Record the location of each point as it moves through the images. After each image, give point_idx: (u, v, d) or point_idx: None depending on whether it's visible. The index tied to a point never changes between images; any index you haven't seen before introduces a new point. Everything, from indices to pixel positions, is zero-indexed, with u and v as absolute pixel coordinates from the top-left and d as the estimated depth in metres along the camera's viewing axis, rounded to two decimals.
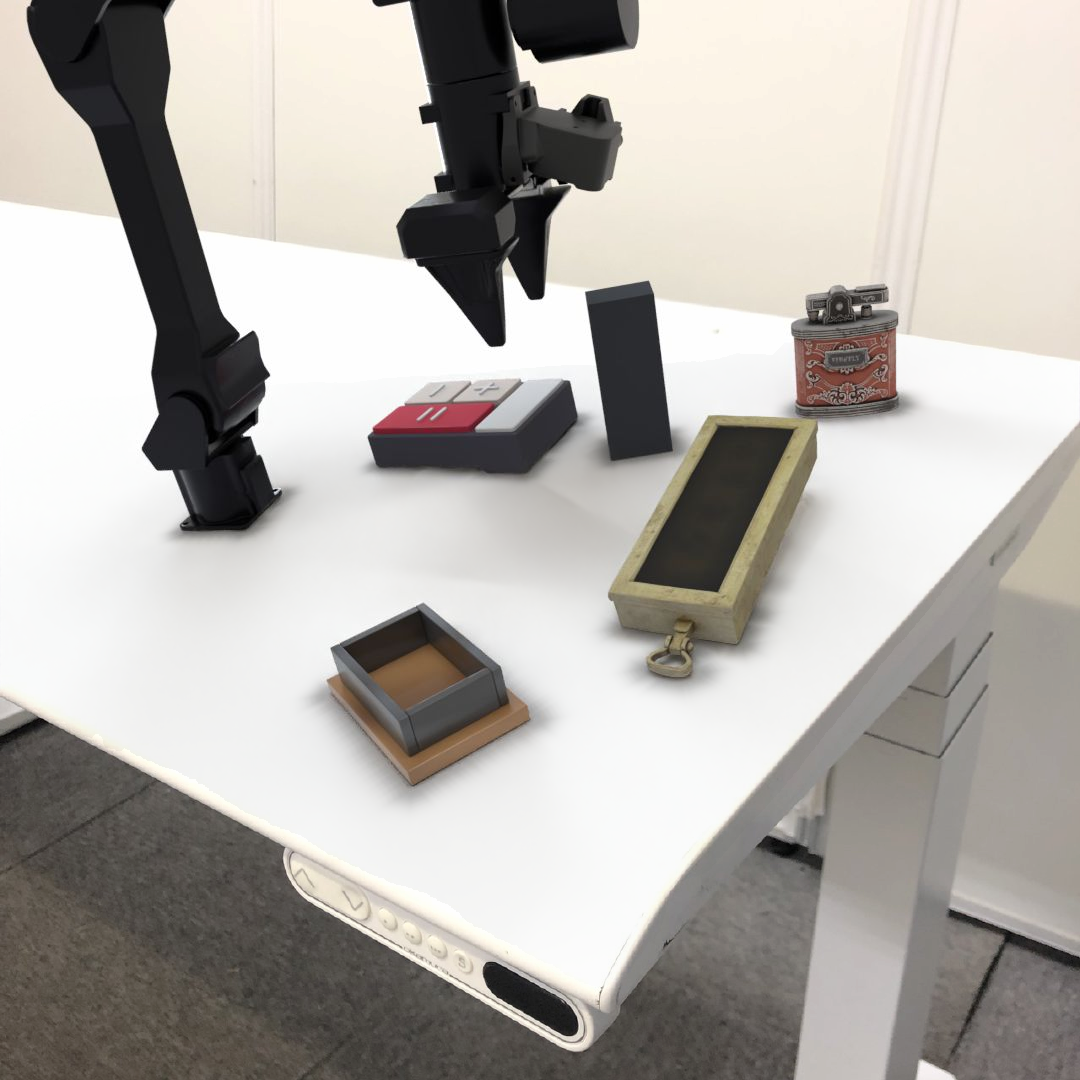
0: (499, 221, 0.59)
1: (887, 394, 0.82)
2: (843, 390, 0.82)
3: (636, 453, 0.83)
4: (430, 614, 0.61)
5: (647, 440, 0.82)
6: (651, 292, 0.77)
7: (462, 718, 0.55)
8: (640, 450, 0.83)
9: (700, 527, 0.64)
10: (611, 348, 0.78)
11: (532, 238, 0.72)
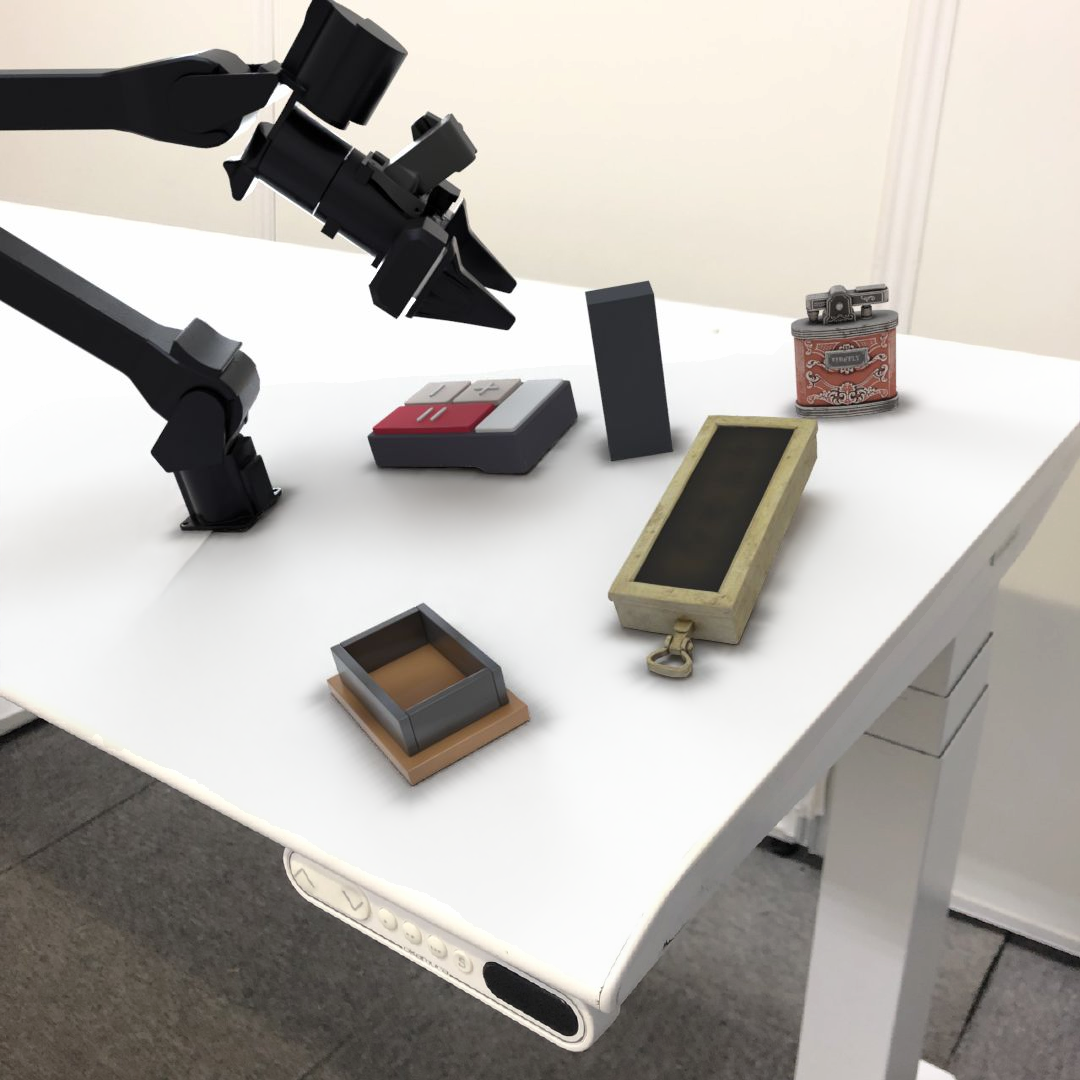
0: (429, 230, 0.67)
1: (887, 394, 0.82)
2: (843, 390, 0.82)
3: (636, 453, 0.83)
4: (430, 614, 0.61)
5: (647, 440, 0.82)
6: (651, 292, 0.77)
7: (462, 718, 0.55)
8: (640, 450, 0.83)
9: (700, 527, 0.64)
10: (611, 348, 0.78)
11: (472, 252, 0.81)
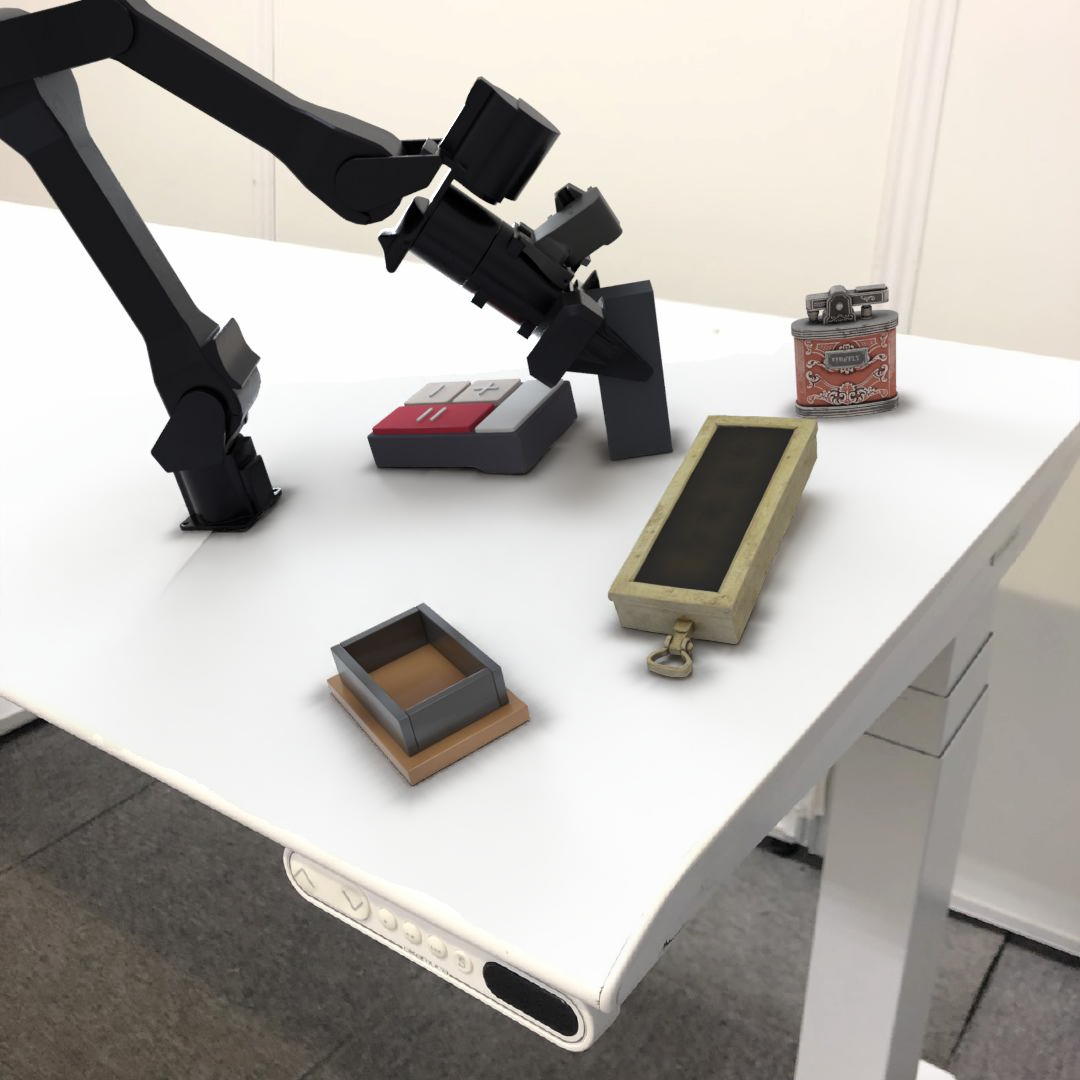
0: (587, 305, 0.70)
1: (887, 394, 0.82)
2: (843, 390, 0.82)
3: (636, 453, 0.82)
4: (430, 614, 0.61)
5: (647, 439, 0.82)
6: (651, 290, 0.77)
7: (462, 718, 0.55)
8: (640, 450, 0.82)
9: (700, 527, 0.64)
10: None
11: None
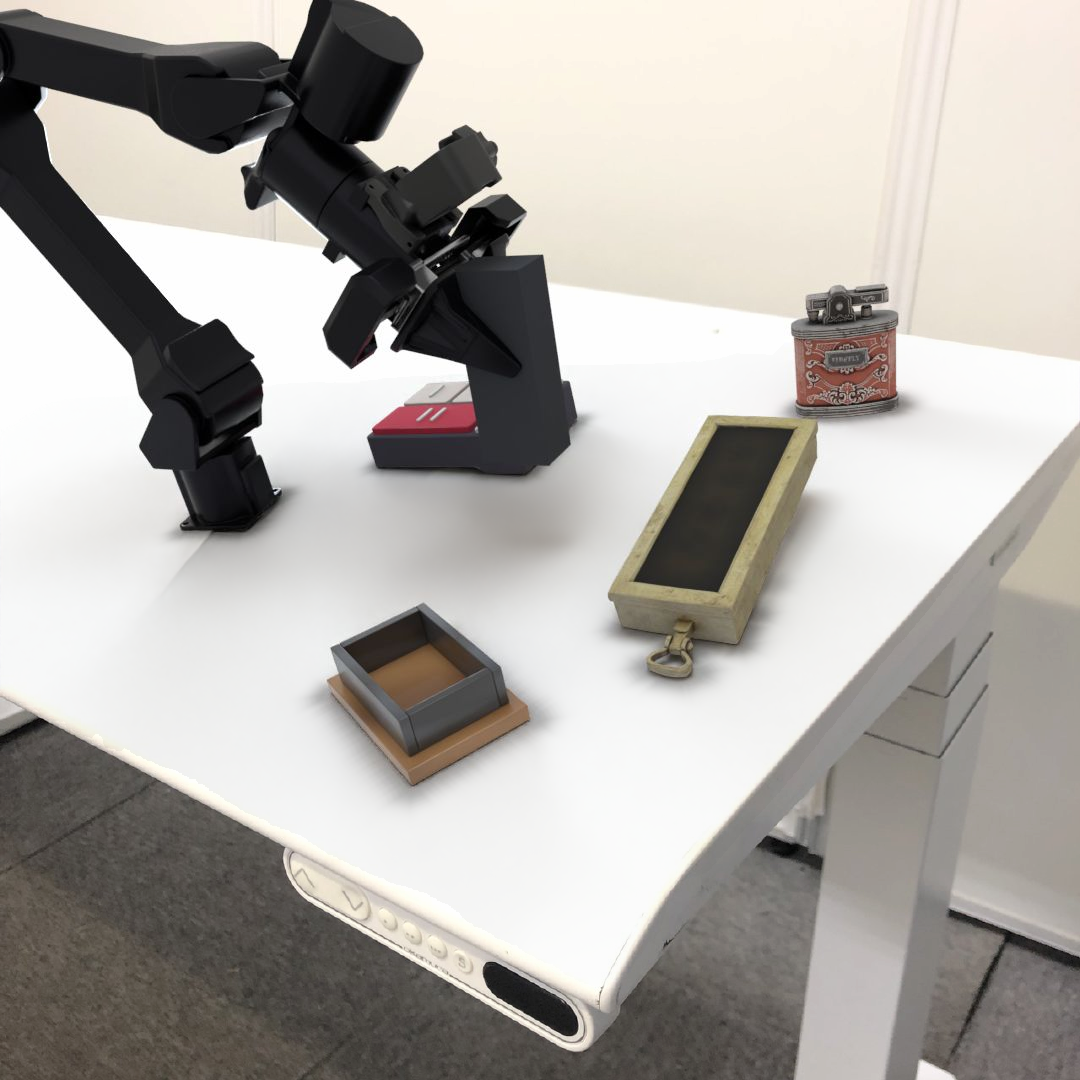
0: (382, 278, 0.58)
1: (887, 394, 0.82)
2: (843, 390, 0.82)
3: (510, 459, 0.69)
4: (430, 614, 0.61)
5: (520, 447, 0.68)
6: (517, 268, 0.62)
7: (462, 718, 0.55)
8: (513, 457, 0.69)
9: (700, 527, 0.64)
10: None
11: None
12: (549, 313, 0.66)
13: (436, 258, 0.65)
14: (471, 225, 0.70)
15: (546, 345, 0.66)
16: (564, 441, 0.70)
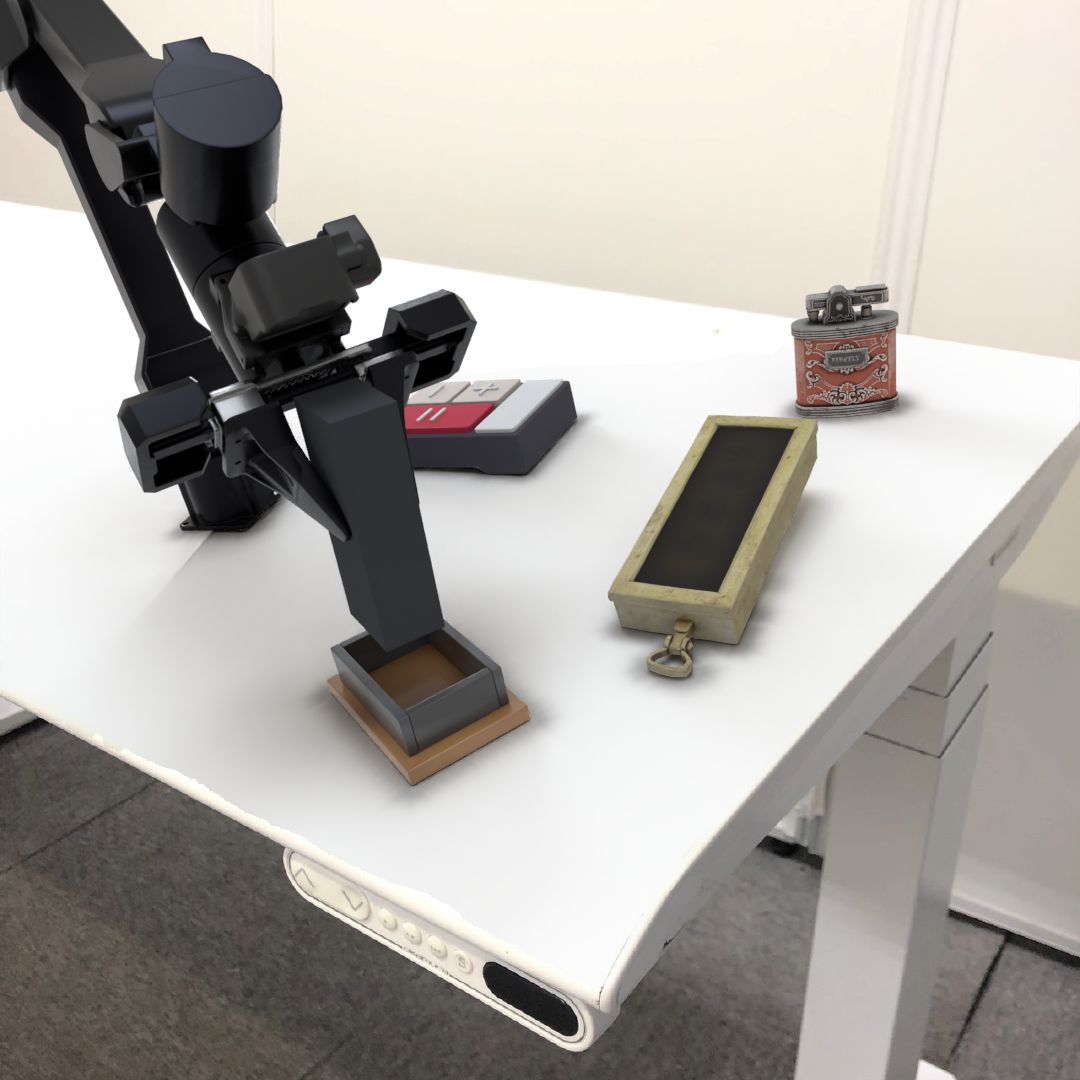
0: (146, 411, 0.48)
1: (887, 394, 0.82)
2: (843, 390, 0.82)
3: (363, 624, 0.56)
4: None
5: (367, 617, 0.55)
6: (333, 420, 0.48)
7: (462, 718, 0.55)
8: (365, 624, 0.56)
9: (700, 527, 0.64)
10: (319, 470, 0.52)
11: None
12: (404, 473, 0.51)
13: (291, 376, 0.52)
14: (393, 328, 0.55)
15: (394, 511, 0.51)
16: (429, 623, 0.55)
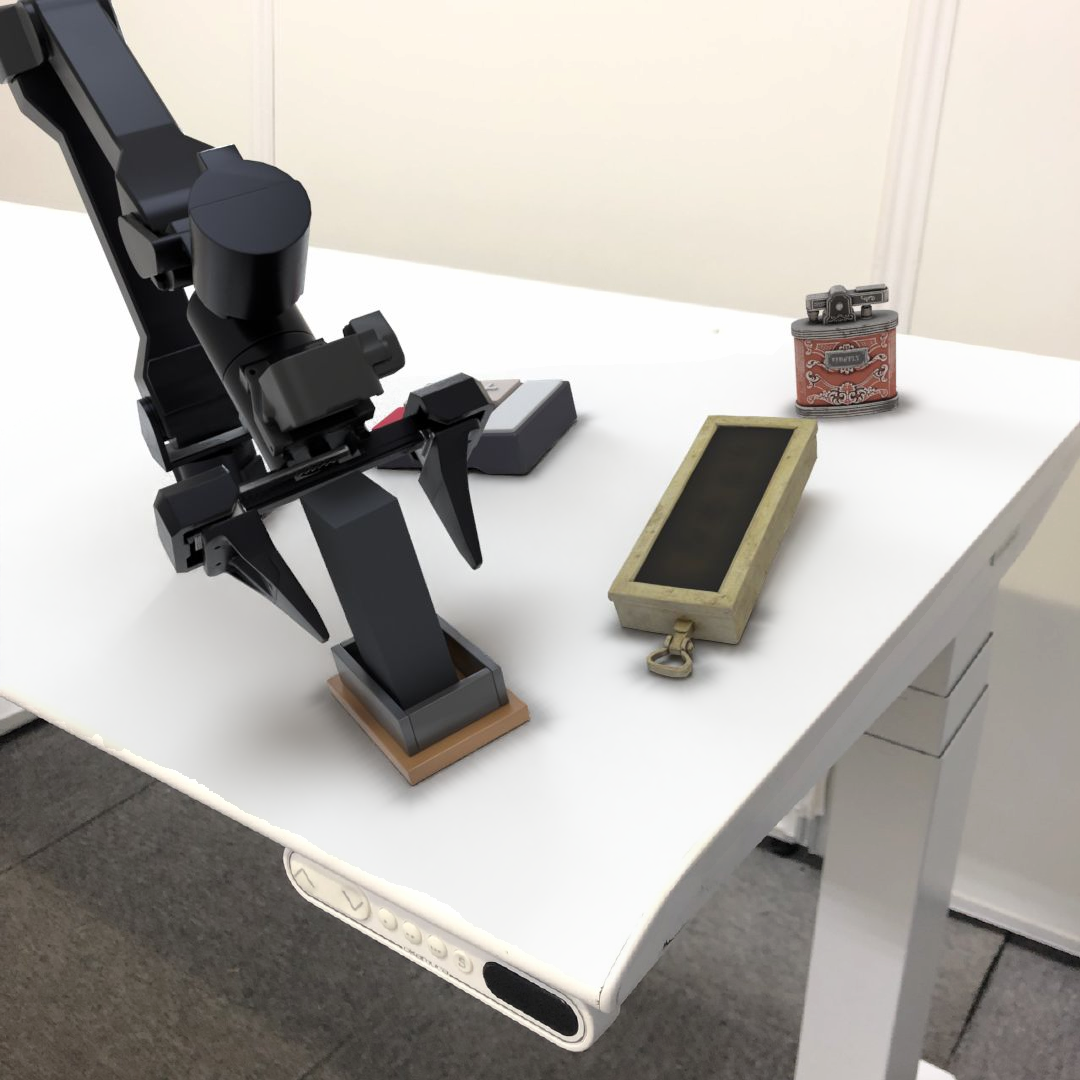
0: (181, 501, 0.50)
1: (887, 394, 0.82)
2: (843, 390, 0.82)
3: None
4: None
5: (389, 695, 0.57)
6: (338, 525, 0.50)
7: (462, 718, 0.55)
8: None
9: (700, 527, 0.64)
10: (330, 563, 0.54)
11: (444, 497, 0.57)
12: (411, 563, 0.53)
13: (270, 480, 0.53)
14: (414, 410, 0.58)
15: (404, 599, 0.53)
16: None
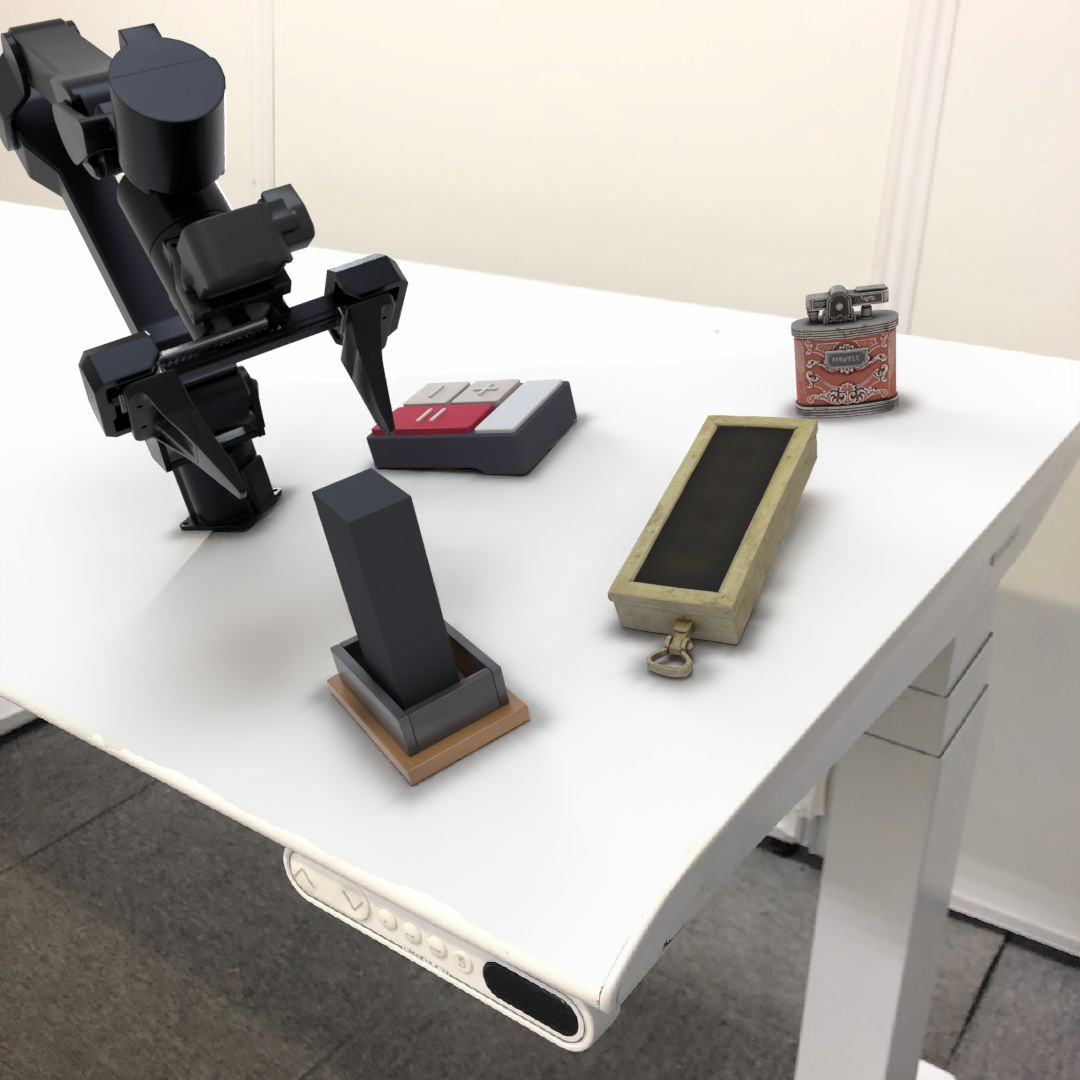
0: (103, 360, 0.54)
1: (887, 394, 0.82)
2: (843, 390, 0.82)
3: None
4: None
5: (390, 694, 0.57)
6: (352, 519, 0.50)
7: (462, 718, 0.55)
8: None
9: (700, 527, 0.64)
10: (339, 559, 0.55)
11: (360, 369, 0.60)
12: (421, 561, 0.53)
13: (191, 347, 0.57)
14: (331, 288, 0.61)
15: (412, 598, 0.53)
16: None
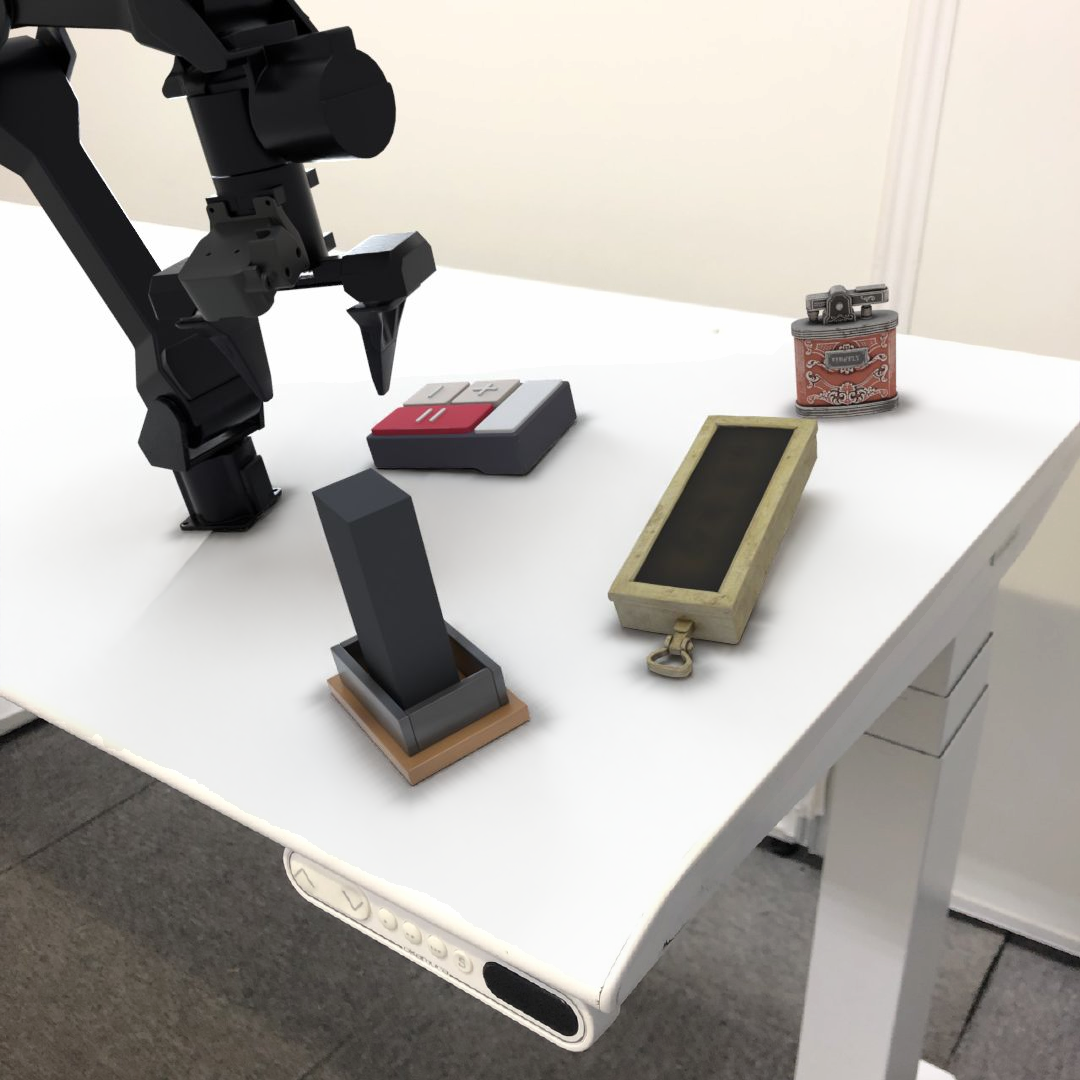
0: (159, 301, 0.68)
1: (887, 394, 0.82)
2: (843, 390, 0.82)
3: None
4: None
5: (390, 694, 0.57)
6: (352, 519, 0.50)
7: (462, 718, 0.55)
8: None
9: (700, 527, 0.64)
10: (339, 559, 0.55)
11: None
12: (421, 561, 0.53)
13: None
14: None
15: (412, 598, 0.53)
16: None
